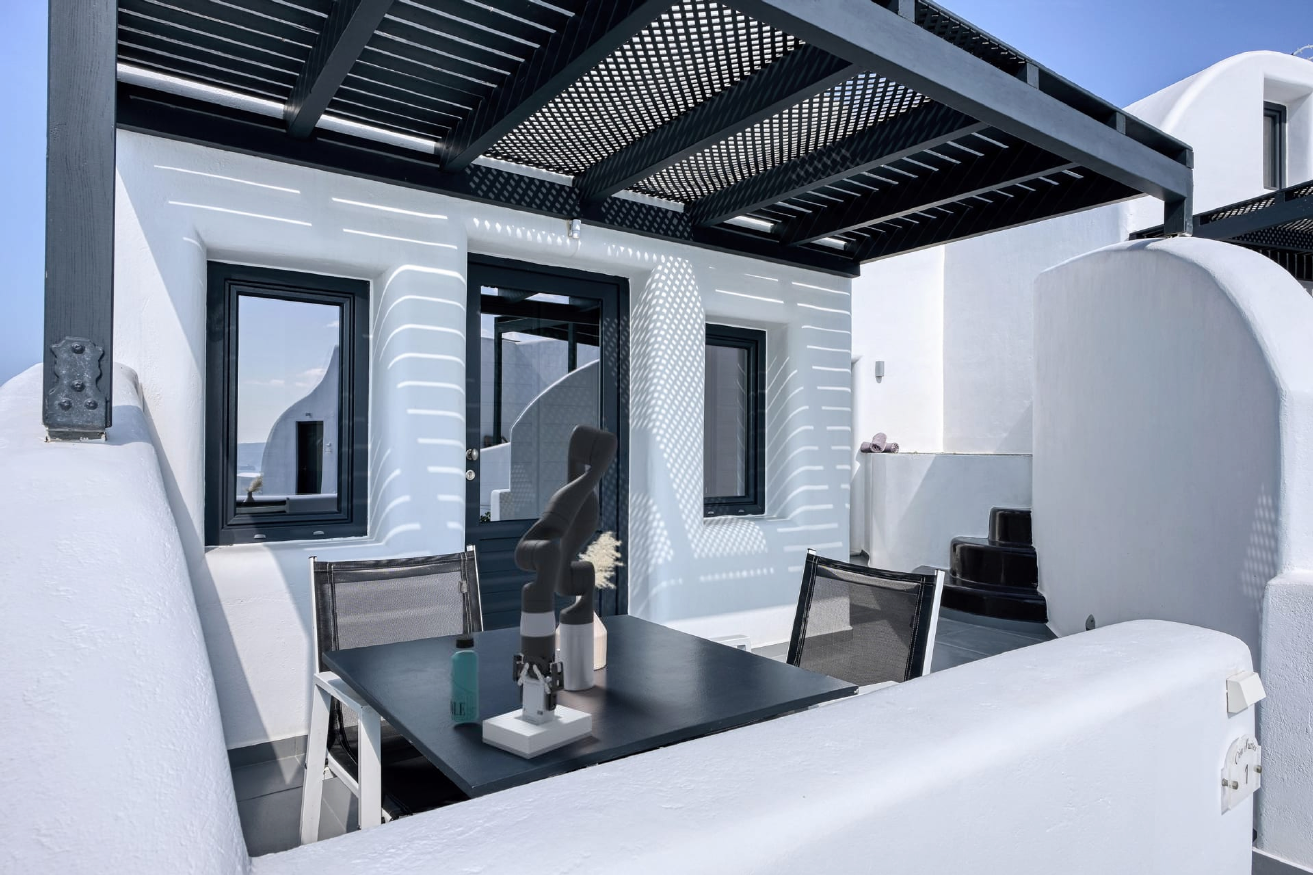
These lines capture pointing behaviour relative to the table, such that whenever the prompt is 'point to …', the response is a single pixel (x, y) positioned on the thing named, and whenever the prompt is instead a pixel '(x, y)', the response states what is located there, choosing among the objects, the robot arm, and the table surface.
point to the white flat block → (536, 731)
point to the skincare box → (535, 702)
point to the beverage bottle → (464, 682)
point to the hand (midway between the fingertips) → (537, 706)
